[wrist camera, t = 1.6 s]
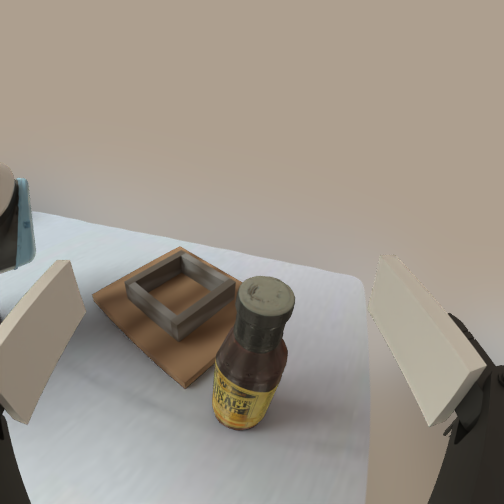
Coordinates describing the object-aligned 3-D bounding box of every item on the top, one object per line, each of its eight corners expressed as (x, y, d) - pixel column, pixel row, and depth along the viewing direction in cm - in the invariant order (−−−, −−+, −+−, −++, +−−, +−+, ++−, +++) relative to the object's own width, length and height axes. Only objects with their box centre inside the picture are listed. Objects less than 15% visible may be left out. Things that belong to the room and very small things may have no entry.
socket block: (94, 301, 43) (87, 277, 40) (180, 252, 57) (179, 230, 54) (185, 388, 33) (182, 367, 30) (273, 307, 47) (278, 284, 44)
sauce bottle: (202, 405, 31) (196, 280, 20) (241, 381, 35) (261, 252, 24) (237, 444, 27) (260, 340, 16) (277, 415, 31) (324, 297, 20)
